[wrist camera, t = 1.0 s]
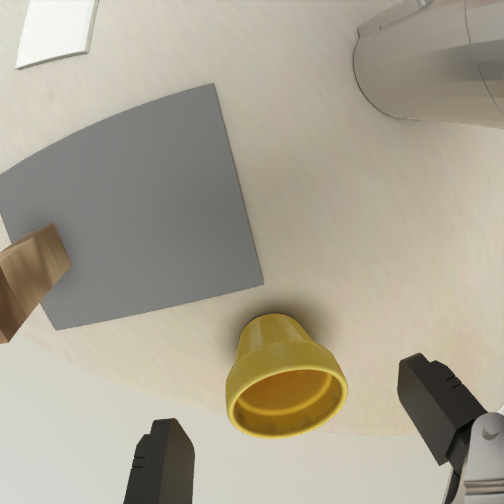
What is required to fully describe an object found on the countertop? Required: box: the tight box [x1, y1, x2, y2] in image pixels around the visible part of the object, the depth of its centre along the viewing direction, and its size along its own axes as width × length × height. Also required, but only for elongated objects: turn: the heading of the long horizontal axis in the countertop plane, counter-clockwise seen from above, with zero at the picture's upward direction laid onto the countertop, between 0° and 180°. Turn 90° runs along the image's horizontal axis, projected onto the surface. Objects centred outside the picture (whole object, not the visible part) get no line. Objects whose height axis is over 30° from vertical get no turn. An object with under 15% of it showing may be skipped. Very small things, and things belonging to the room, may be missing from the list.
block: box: [0, 222, 72, 344], centre depth 19 cm, size 4×4×12 cm
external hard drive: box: [15, 0, 99, 70], centre depth 15 cm, size 2×8×12 cm
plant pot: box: [226, 313, 348, 439], centre depth 27 cm, size 10×10×10 cm
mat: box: [0, 83, 264, 331], centre depth 24 cm, size 18×24×1 cm
